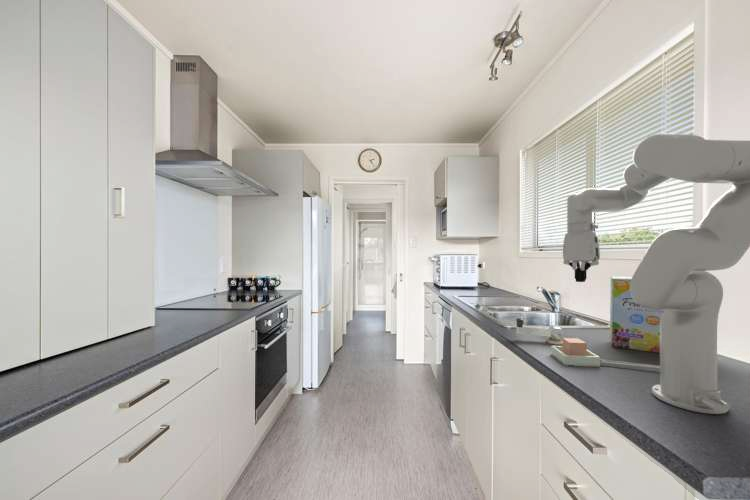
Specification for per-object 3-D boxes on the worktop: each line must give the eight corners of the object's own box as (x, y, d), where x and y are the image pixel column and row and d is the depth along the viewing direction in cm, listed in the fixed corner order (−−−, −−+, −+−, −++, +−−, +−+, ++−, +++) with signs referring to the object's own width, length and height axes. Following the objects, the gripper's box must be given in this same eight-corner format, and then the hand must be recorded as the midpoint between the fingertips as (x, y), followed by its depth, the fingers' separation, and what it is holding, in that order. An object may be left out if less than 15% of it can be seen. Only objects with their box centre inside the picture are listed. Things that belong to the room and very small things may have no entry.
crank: (559, 338, 119) (559, 319, 119) (563, 341, 114) (563, 322, 114) (515, 335, 123) (515, 317, 123) (517, 338, 119) (517, 320, 119)
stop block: (586, 362, 96) (586, 343, 96) (569, 361, 96) (569, 342, 96) (578, 356, 101) (578, 338, 101) (562, 355, 101) (562, 337, 101)
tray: (599, 366, 93) (599, 357, 93) (564, 365, 94) (564, 355, 94) (582, 355, 103) (582, 346, 103) (551, 354, 104) (551, 345, 104)
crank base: (567, 345, 114) (567, 342, 114) (550, 344, 115) (550, 342, 115) (560, 340, 120) (560, 338, 120) (543, 340, 121) (543, 337, 121)
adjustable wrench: (595, 366, 95) (595, 360, 95) (591, 359, 100) (591, 354, 100) (706, 381, 83) (706, 374, 83) (695, 372, 89) (695, 366, 89)
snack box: (611, 347, 111) (611, 277, 111) (609, 341, 118) (608, 275, 118) (695, 358, 99) (694, 280, 99) (686, 351, 106) (686, 278, 106)
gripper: (610, 227, 100) (610, 282, 100) (563, 230, 113) (563, 279, 113) (599, 227, 96) (600, 284, 96) (552, 230, 109) (552, 280, 109)
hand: (580, 281), depth 105 cm, fingers closed
